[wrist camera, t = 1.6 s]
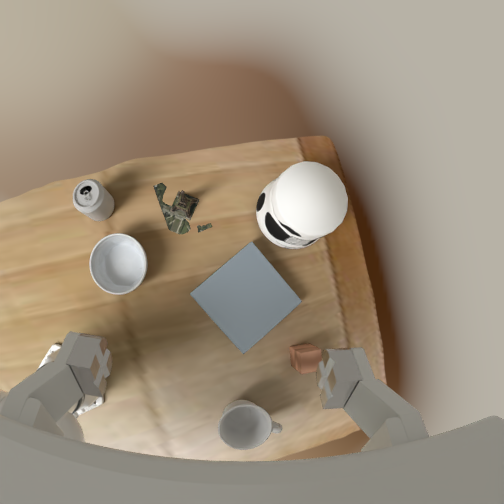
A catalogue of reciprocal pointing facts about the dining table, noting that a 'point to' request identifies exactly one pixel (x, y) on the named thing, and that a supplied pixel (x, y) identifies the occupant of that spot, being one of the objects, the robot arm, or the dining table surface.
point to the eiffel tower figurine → (178, 210)
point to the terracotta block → (305, 358)
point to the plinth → (246, 297)
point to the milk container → (302, 205)
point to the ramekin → (118, 263)
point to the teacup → (246, 425)
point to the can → (93, 200)
